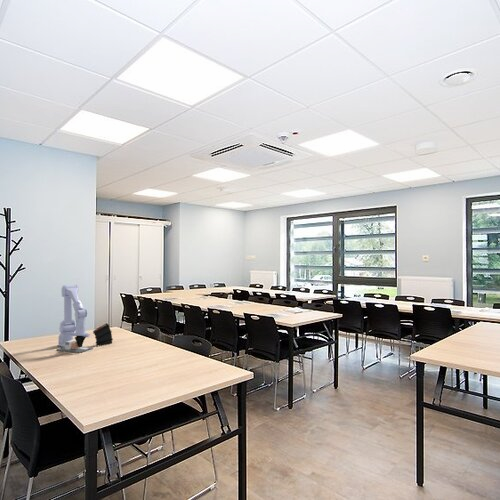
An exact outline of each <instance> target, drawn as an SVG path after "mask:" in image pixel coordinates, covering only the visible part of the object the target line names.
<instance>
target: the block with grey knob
mask: <svg viewBox="0 0 500 500" xmlns="http://www.w3.org/2000/svg"><path fill="white" fill-rule="evenodd" d="M72 348H73V349H75V348H79V347H78V344H77V342H74V343H72Z"/></svg>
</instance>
